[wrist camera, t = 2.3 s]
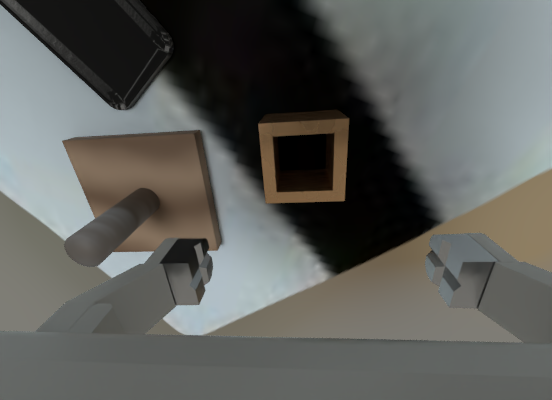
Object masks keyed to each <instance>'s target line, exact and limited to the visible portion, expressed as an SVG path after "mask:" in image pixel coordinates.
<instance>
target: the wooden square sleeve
mask: <svg viewBox="0 0 552 400" xmlns="http://www.w3.org/2000/svg"><path fill="white" fill-rule="evenodd" d="M258 127H259V137H260V148H261V158H262V169H263V180H264V190H265V201H266V203H296V202H330V201H345V185H346V167H347V148H348V130H349V118H348V117H347V116H345V115H344V114H343V113H341V112H340V111H339V110H326V111H310V112H294V113H278V114H266V115H265V116H264V117H263V118H262V120H261V121H260V122H259V123H258ZM310 134H326V169H309V170H285V171H280V162H279V146H278V136H291V135H310Z"/></svg>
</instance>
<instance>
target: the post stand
mask: <svg viewBox="0 0 552 400" xmlns="http://www.w3.org/2000/svg"><path fill="white" fill-rule="evenodd" d="M62 142H63V144H64V147H65V149H66V151H67V154H68V156H69V158H70V161H71V163H72V165H73V168H74V170H75V172H76V175H77V177H78V179H79V182H80V184H81V186H82V189H83V191H84V193H85V196H86V198H87V200H88V203H89V205H90V207H91V210H92V212H93V214H94V217H95V219H94V220H93V221H91V222H90V223H88V224H87V225H86V226H84V227H83V228H81V229H80V230H79V231H77V232H76V233H74V234H73V235H71V236H70V237H69V238H67V239H66V241H65V244H64V247H65V250H66V252H67V254H68V255H69V257H70V258H71V259H72V260H74V261H75V262H77V263H78V264H81V265H83V266H87V267H94V266H98V265H99V264H101V263H102V262H103V261H104V260H105V259H106V258H107V257H108V256H109V255H110V254H111V253H112V252H143V251H155V250H156V249H157V248H158V247H159V246H160V244H161V243H162V242H163V241H164V240H165V239H166V238H206V239H207V240H208V244H209V249H208V251H217V250H218V249H219V246H220V244H221V237H220V232H219V227H218V221H217V216H216V211H215V206H214V201H213V195H212V190H211V185H210V180H209V175H208V169H207V164H206V159H205V154H204V149H203V143H202V138H201V133H200V130H194V131H177V132H160V133H142V134H125V135H108V136H91V137H75V138H71V139H68V140H64V141H62Z"/></svg>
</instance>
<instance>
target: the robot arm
mask: <svg viewBox="0 0 552 400" xmlns="http://www.w3.org/2000/svg"><path fill="white" fill-rule="evenodd" d="M429 246H430V247H431V249H432V251H431V252H430V253H429V254H428V255H427V256H426V261H425V265H426V272H427V275H428V277H429V279H430V280H431V281H432V282H433V283H434V284H436V285H438V286H439V287H440V288H439V293H440V295H441V296H442V298H443V299H444V301H445V302H446V304H447V305H448V306H449V307H450V308H477V309H478V310H479V311H480V312H482V313H483V314H484V315H486V316H487V317H489V318H490V319H492V320H493V321H494V322H496V323H497V324H499V325H500V326H501V327H503V328H504V329H506V330H507V331H509V332H510V333H511V334H513V335H514V336H516V337H517V338H518V339H520V340H521V341H523V342H524V343H514V342H511V343H510V342H469V341H427V340H424V341H423V340H386V339H384V340H383V339H339V338H292V337H291V338H290V337H244V336H243V337H242V336H200V335H154V334H145V333H146V332H147V331H149V330H150V329H151V328H152V327H153V326H154V325H155V324H156V323H158V322H159V321H160V320H161V319H162V318H163V317H164V316H166V315H167V314H168V313H169V312H170V311H171V310H172V309H173V308H175V307H176V305H199V304H200V301H201V299H202V297H203V295H204V292H205V287H204V285H205V284H207V283H208V282H209V281H210V279H211V276H212V270H213V262H212V257H211V256H210V255H209V254H208V253H207V251H208V249H209V244H208V240H207V239H206V238H166V239H165V240H164V241H163V242H162V243H161V244H160V246H159V247H158V248H157V249H156V250H155V251H154V253H153V254H152V255H151V256H150V257H149V259H148V260H147V261H146V262H145V263H144V264H139V265H137V266H135V267H133V268H131V269H129V270H127V271H125V272H123V273H121V274H119V275H117V276H116V277H114V278H112V279H110V280H108V281H106V282H104V283H102V284H101V285H98V286H96V287H94V288H92V289H90V290H88V291H87V292H85V293H83V294H81V295H79V296H77V297H75V298H73V299H71V300H69V301H67V302H66V303H65V304H63V306H61V307H60V308H59V309H58V310H57V311H56V312H55V313H54V314H53V315H52V316H51V317H50V318H49V319H48V320H47V321H46V322H45V323H44V324H42V325H41V326H40V327H39V328H38V329H37V330H36V331H35V332H23V331H22V332H21V331H0V400H552V272H549V271H546V270H544V269H541V268H539V267H536V266H533V265H531V264H528V263H526V262H519V261H517V260H516V259H515V258H514V257H512V256H511V255H510V254H509V253H507V252H506V251H505V250H503V249H502V248H501V247H500V246H499V245H497V244H496V243H495V242H494V241H492V240H491V239H490V238H489V237H487V236H486V235H485V234H482V233H468V234H444V235H433V236H432V237H431V239H430V242H429Z"/></svg>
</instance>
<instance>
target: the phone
mask: <svg viewBox="0 0 552 400" xmlns="http://www.w3.org/2000/svg"><path fill="white" fill-rule="evenodd" d="M0 5H2V6H3V7H4V8H5V9H6V10H7V11H8V12H9V13H10V14H11V15H12V16H13V17H15V18H16V19H17V20H18V21H19V22H20V23H21V24H22V25H23V26H24V27H25V28H26V29H28V30H29V31H30V32H31V33H32V34H33V35H34V36H35V37H36V38H37V39H38V40H39V41H40V42H42V43H43V44H44V45H45V46H46V47H47V48H48V49H49V50H50V51H51V52H52V53H53V54H55V55H56V56H57V57H58V58H59V59H60V60H61V61H62V62H63V63H64V64H65V65H66V66H68V67H69V68H70V69H71V70H72V71H73V72H74V73H75V74H76V75H77V76H78V77H79V78H81V79H82V80H83V81H84V82H85V83H86V84H87V85H88V86H89V87H90V88H91V89H92V90H94V91H95V92H96V93H97V94H98V95H99V96H100V97H101V98H102V99H103V100H104V101H105V102H107V103H108V104H109V105H110V106H111V107H113V108H114V109H117V110H124V109H129V108H131V107H132V106H133V105H134V104H135V103H136V102H137V100H138V99H139V98H140V96H141V95H142V94H143V93H144V91H145V90H146V89H147V87H148V86H149V85H150V83H151V82H152V81H153V80H154V78H155V77H156V76H157V74H158V73H159V72H160V70H161V69H162V68H163V67H164V65H165V64H166V63H167V61H168V60H169V59H170V57H171V56H172V54H173V50H174V45H173V41H172V38H171V36H170V35H169V33H168V32H167V31H166V30H165V29H164V28H163V27H162V25H161V24H160V23H159V21H158V20H157V19H156V18H155V17H154V16H153V15H152V14H151V13H150V12H149V11H148V10H147V9H146V7H145V6H144V4H143V3H142V2H141V1H140V0H0Z"/></svg>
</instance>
